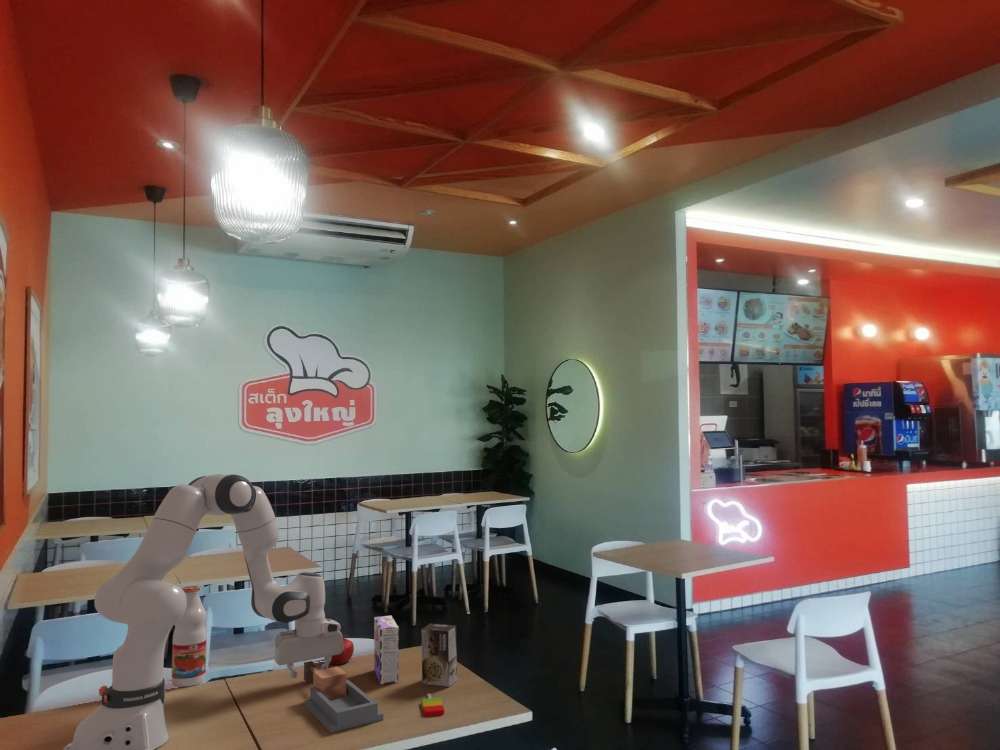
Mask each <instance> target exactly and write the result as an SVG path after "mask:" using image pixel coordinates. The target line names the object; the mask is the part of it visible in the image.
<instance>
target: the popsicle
mask: <svg viewBox="0 0 1000 750" xmlns="http://www.w3.org/2000/svg"><path fill="white" fill-rule="evenodd" d="M426 695H427V698H421V700H420V705H421V710H422V715H423V716H424V717H426V718H429V717H430V718H431V717H441V716H444V715H445V708H444V704H443V701H442V699H441V697H432V694H431V693H430V692H429V693H427V694H426Z"/></svg>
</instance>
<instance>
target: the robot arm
mask: <svg viewBox="0 0 1000 750" xmlns="http://www.w3.org/2000/svg"><path fill="white" fill-rule="evenodd" d="M268 498H269V497H268V496H267V495H266V493H265V492H264V490H263V489H262V488H261V487H260V486H256V485H253V484H252V483H251V481H250V480H249V479H247V478H246V477H244V476H242V475H240V474H220V473H219V474H211V475H204V476H200V477H197V478H194V479H193V480H192V481H190V482H189V483H188V484H178V485H176V486H174V487H172V488H171V489H170V490H169V491H168V493H167V494H166V495H165V497H164V498H163V500H162V501H161V503H160V505H159V506H158V508H157V510H156V512H155V514H154V516H153V517H152V520H151V521H150V524H149V526H148V528H147V530H146V533H145V534H144V536H143V538H142V541H141V543H140V545H139V546H138V548H137V550H136V551H135V552H134V554H133V555H132V556H131V558H130V559H128V561H127V563H126V564H125V565H124V566H123V567H122V568H121V570H119V572H117V573H116V574H115V575H114V576H112V577H111V578H110V579H108V580H106V581H104V582H103V583H102V584H101V585H100V586H99V588H97V591H96V593H95V597H94V608H95V610H96V611H97V613H98V615H100V616H101V617H103V618H104V619H107V620H108V621H111V622H114V623H118V624H119V623H120V624H125V625H127V633H126V637H125V639H124V641H123V643H122V644H121V645H120V646H119V647H117V649H116V650H115V651H114V653H113V657H112V673H111V674H112V676H111V677H112V678H111V680H112V681H111V686H107V685H102V686H100V688H99V689H98V694H99V696H100V697H101V705H99V706H98V707H97V708H96V709H95V710H93V711H92V712H91V713H90V714H88V716H86V717H85V718H83V719H82V720H81V721H80V722H79V724H78V725H77V727H76V729H75V732H74V734H73V739H72V742H70V743H69V744H67V745H66V746H65V747H64V748H63V749H62V750H156V749H157V748H160V747H161V746H163V745H164V744H166V742H167V741H169V738H170V737H169V731H168V729H167V725H166V718H165V710H164V703H165V699H166V680H165V678H164V665H165V664H164V663H165V662H164V661H165V650H166V644H167V641H168V637H169V635H170V633H171V630H172V629H173V627H175V624H176V623H177V622H178V621H179V620H180V619H181V618H182V616H183V614H184V612H185V610H186V606H187V598H186V594H185V592H184V591H183V590H182V589H183V588H181V587H180V586H178V585H176V584H174V583H171V582H169V581H166V580H164V578H165V577H166V576H167V574H168V573H169V572H170V571H172V570H173V569H175V568H176V567H179V565H181V564H182V563H183V561H185V558H186V556H187V553H188V552H189V549H190V546H192V545H191V544H192V542H193V540H194V537H195V534H196V532H197V530H198V527H199V525H200V522H201V520H202V519H203V518H204V517H205V516H206V515H213V516H225V515H230V517H231V518H232V520H233V524H234V527H235V530H236V533H237V536H238V539H239V542H240V545H241V547H242V551H243V555H244V560H245V564H246V567H247V572H248V577H249V580H250V584H251V598H250V599H251V601H250V604H251V608H252V610H253V613H255V614H256V615H257V616H259V617H261V618H264V619H269V620H271V621H274V622H277V623H280V624H288V623H291V622H294V629H289V630H287V631H281V632H279V633H278V634H277V635H276V636H275V637H274V646H275V649H274V662H275V664H277V666H280V667H281V666H284V665H285V666H286V667H287V669H288V671H289V672H290V673H289V674H290V678H291V679H297V677H298V671H297V670H296V669H295V670H294V669H293V667H294V664H296V663H302V662H308V661H313V660H316V659H323V658H324V657H325V658H326V660H325V662H323V664H321V665H320V666H321V669H320V670H323V669H328V668H329V665H330V661H331V660H332V656H333V655H338V654H341V653H342V651H343V637H344V636H342V635H343V633H342V632H341V631H340V630H341V624H340V623H339V622H337V621H336V620H333V619H331V618H326V614H325V610H324V609H325V604H326V586H325V579H324V577H323V576H322V575H321V574H319V573H316V572H305V571H304V572H299V573H298V574H297V576H296V577H295V578H294V579H293V580H292V581H291V582H289V583H287V584H286V585H284V586H281V585H280V584H278V583H277V581H276V580H275V578H274V576H273V572H272V569H271V565H270V561H269V552H270V551H271V550H272V549H273V548H274V547H275V546H276V544H277V543H278V541H279V539H280V530H279V525H278V521H277V518H276V516H275V512H274V510H273V507H272V505H271V502H270V500H269V499H268ZM325 658H324V659H325Z"/></svg>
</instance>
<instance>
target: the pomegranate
mask: <svg viewBox="0 0 1000 750" xmlns="http://www.w3.org/2000/svg"><path fill="white" fill-rule="evenodd" d="M342 637H343V651H342V653H341V654H338V655H333V656H332V660H331V661H330V663H329V665H330V664H331V665H343V664H346V663H347V662H349V661H350V660H351V659H352V657H353V654H354V651H355V646H354V643H353V641H351V640H349V639H347V637H348V638H349V635H344V636H343V634H342ZM345 637H346V638H345ZM323 658H324V660H325V661H326V658H325V657H323Z"/></svg>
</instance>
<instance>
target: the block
mask: <svg viewBox="0 0 1000 750" xmlns="http://www.w3.org/2000/svg"><path fill="white" fill-rule="evenodd" d="M303 680H304V681H305V683H312V682H313V685H312V686H313V687H316V688H317V689H318V690H319V691H320V692H321V693H322V694H323V695H324V696H325V697H326V698H328V699H329V700H330V699H334V698H339V697H343V696H346V680H347V673H346V672H345V671H344V670H343V669H341V668H340V667H339V666H334V667H328V669H323V670H321V669H320V670H317V669H316V663H315V662H314V661H313V660H308V661H303Z"/></svg>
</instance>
